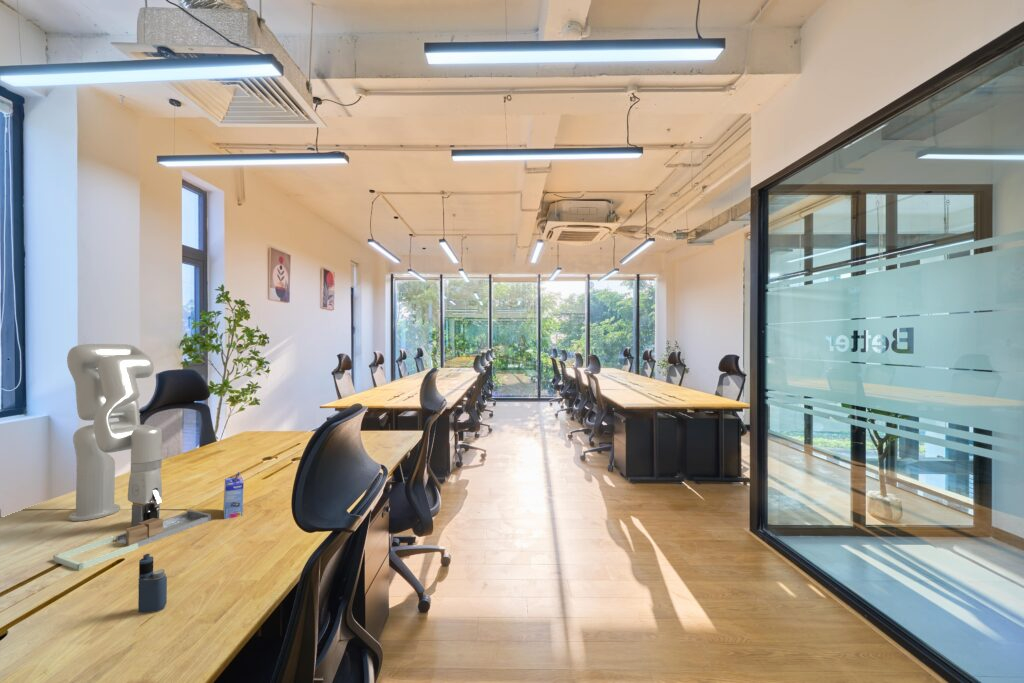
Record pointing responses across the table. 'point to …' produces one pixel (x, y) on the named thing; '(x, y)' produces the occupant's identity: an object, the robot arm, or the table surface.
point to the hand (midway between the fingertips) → (145, 521)
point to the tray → (77, 565)
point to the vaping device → (151, 587)
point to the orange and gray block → (140, 513)
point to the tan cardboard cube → (153, 526)
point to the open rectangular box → (173, 526)
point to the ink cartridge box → (233, 497)
